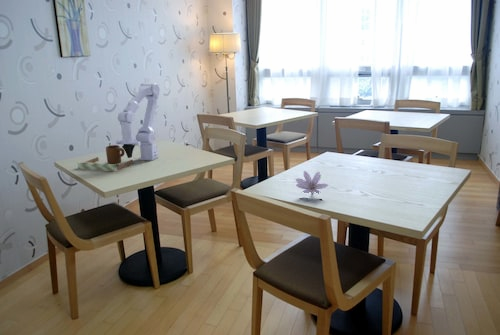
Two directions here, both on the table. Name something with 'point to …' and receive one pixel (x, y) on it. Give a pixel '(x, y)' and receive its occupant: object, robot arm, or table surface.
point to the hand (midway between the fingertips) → (129, 157)
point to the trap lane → (102, 165)
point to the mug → (114, 154)
